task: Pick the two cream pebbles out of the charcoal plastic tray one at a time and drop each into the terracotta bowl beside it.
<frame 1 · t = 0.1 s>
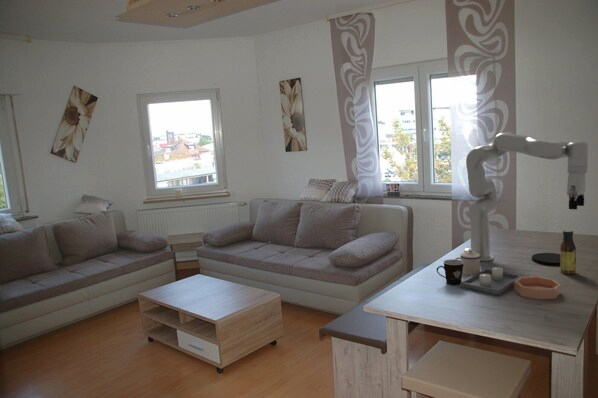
hand: (576, 207, 203), 31 cm above the table, tool pointing down, fingers open, 9 cm apart
wireless charger: (551, 261, 229), on the table
pebble 1: (497, 279, 205), point 1 cm above the table, touching parts tray
bowl: (537, 291, 189), on the table
parts tray: (491, 284, 201), on the table
pebble 2: (485, 286, 197), point 1 cm above the table, touching parts tray
coffee mug: (450, 283, 207), on the table
sauce bottle: (567, 273, 210), on the table
teacup with lid: (467, 273, 219), on the table
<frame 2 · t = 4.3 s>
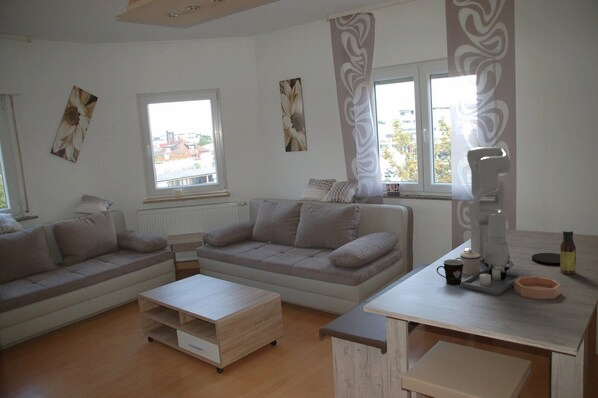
hand: (497, 278, 205), 1 cm above the table, tool pointing down, fingers closed on pebble 1, 4 cm apart
pebble 1: (497, 279, 205), point 1 cm above the table, touching gripper, parts tray
everything else where it was.
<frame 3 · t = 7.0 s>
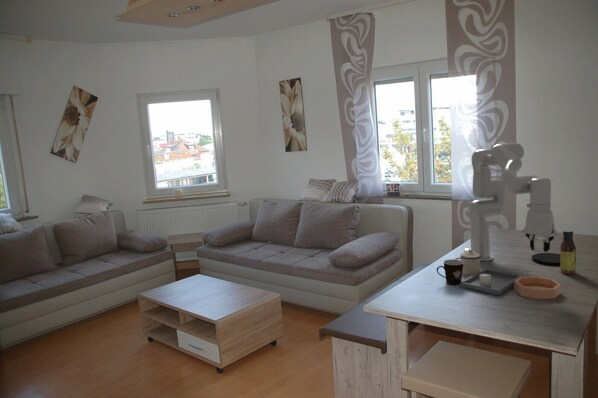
hand: (539, 249, 189), 18 cm above the table, tool pointing down, fingers closed on pebble 1, 4 cm apart
pebble 1: (539, 250, 189), point 17 cm above the table, touching gripper
everything else where it was.
when the fingers open (4 cm above the table, at t = 9.8 s): pebble 1 drops 3 cm, resting on bowl.
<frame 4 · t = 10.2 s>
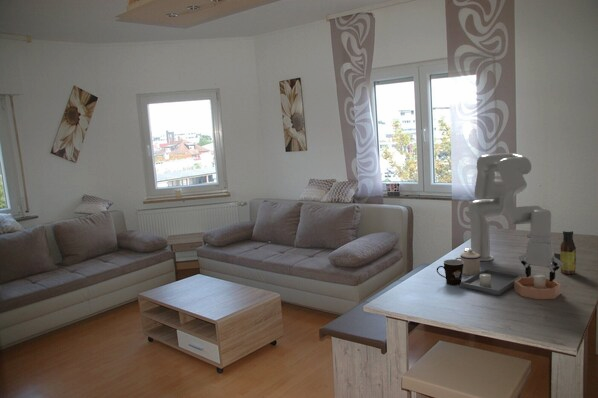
hand: (539, 278, 190), 5 cm above the table, tool pointing down, fingers open, 8 cm apart
pebble 1: (539, 287, 191), point 1 cm above the table, touching bowl
everything else where it was.
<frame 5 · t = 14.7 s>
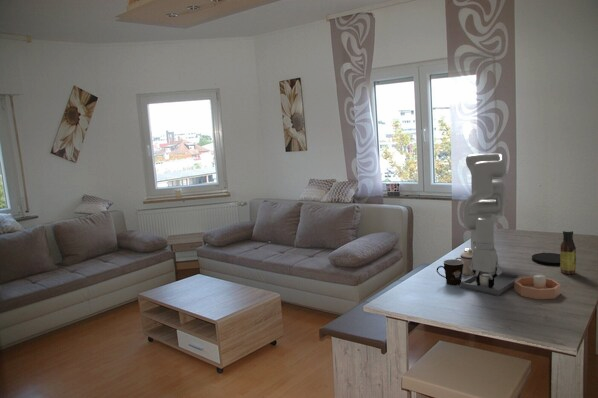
hand: (485, 285, 197), 1 cm above the table, tool pointing down, fingers closed on pebble 2, 4 cm apart
pebble 2: (485, 286, 197), point 1 cm above the table, touching gripper, parts tray
everything else where it was.
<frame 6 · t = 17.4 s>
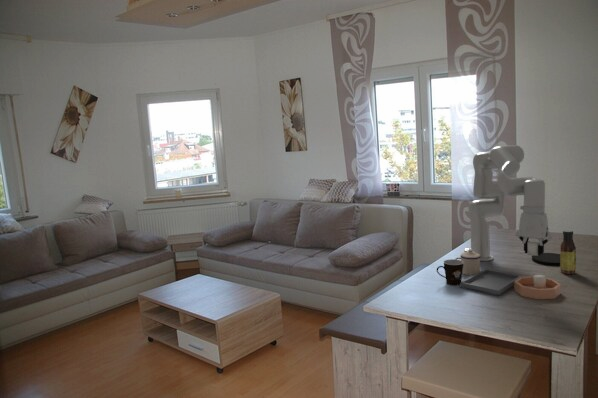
hand: (533, 253, 185), 18 cm above the table, tool pointing down, fingers closed on pebble 2, 4 cm apart
pebble 2: (533, 254, 185), point 17 cm above the table, touching gripper
everything else where it was.
when the fingers open (4 cm above the table, at t = 20.3 s): pebble 2 drops 3 cm, resting on bowl.
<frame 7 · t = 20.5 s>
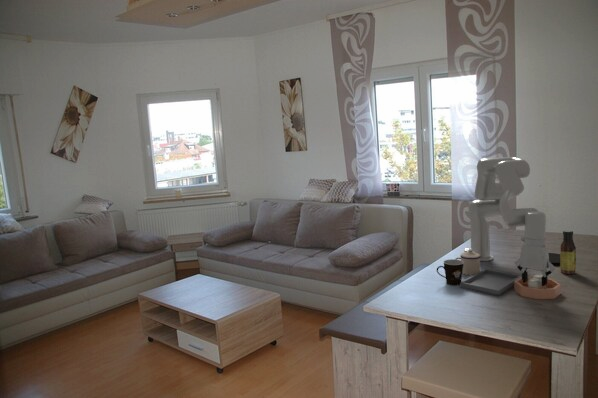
hand: (534, 283, 187), 5 cm above the table, tool pointing down, fingers open, 6 cm apart
pebble 2: (534, 291, 187), point 1 cm above the table, touching bowl
everything else where it was.
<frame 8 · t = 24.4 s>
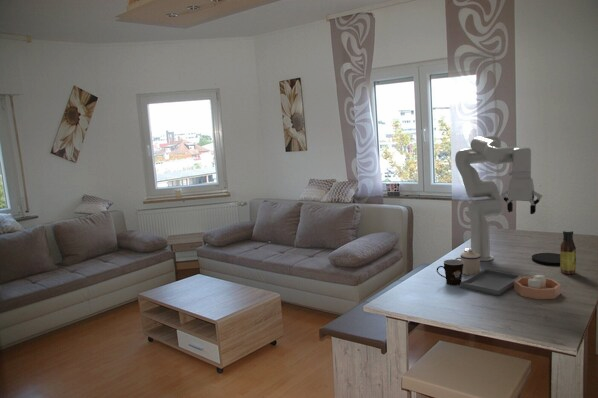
hand: (521, 212, 204), 30 cm above the table, tool pointing down, fingers open, 9 cm apart
nothing on the table moved.
at the end: pebble 1 inside the target area on the bowl (3.0 cm from its centre), point 1.0 cm above the bowl's base; pebble 2 inside the target area on the bowl (3.0 cm from its centre), point 1.0 cm above the bowl's base; the gripper is holding nothing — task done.
